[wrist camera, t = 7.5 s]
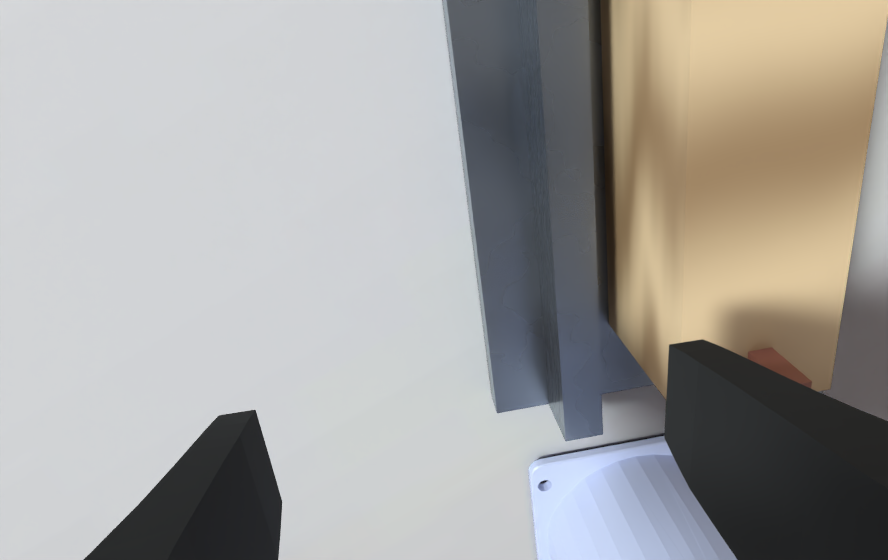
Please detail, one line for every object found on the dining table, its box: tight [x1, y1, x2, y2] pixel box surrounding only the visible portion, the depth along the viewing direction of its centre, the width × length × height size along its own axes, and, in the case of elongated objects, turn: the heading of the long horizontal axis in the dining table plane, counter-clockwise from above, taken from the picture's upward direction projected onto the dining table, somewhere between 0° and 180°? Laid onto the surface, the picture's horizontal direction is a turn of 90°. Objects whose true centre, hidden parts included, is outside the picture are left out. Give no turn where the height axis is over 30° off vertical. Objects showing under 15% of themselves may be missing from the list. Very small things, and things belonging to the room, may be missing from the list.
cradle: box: [442, 0, 822, 441], centre depth 17 cm, size 18×12×3 cm, turn 8°
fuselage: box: [600, 0, 888, 399], centre depth 14 cm, size 14×4×6 cm, turn 8°
